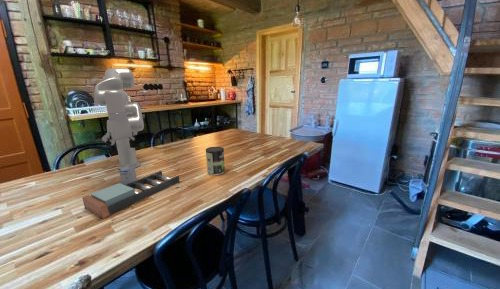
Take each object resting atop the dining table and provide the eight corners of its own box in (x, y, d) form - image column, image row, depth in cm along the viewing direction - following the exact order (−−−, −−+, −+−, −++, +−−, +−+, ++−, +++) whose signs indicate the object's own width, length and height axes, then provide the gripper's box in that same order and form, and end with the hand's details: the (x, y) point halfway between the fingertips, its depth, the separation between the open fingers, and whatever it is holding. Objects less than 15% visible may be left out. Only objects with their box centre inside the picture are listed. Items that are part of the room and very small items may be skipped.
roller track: (84, 207, 93) (82, 197, 92) (161, 176, 124) (160, 167, 123) (103, 218, 86) (100, 207, 84) (179, 181, 117) (178, 172, 115)
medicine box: (128, 180, 120) (125, 165, 118) (137, 179, 121) (134, 164, 118) (121, 186, 113) (118, 170, 110) (130, 185, 113) (127, 170, 111)
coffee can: (227, 169, 133) (226, 146, 129) (221, 175, 123) (220, 151, 119) (211, 168, 135) (209, 146, 131) (204, 174, 125) (202, 151, 121)
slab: (92, 200, 94) (90, 193, 93) (120, 188, 104) (119, 183, 103) (106, 207, 88) (105, 201, 87) (135, 194, 98) (134, 188, 97)
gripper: (130, 113, 116) (135, 145, 121) (94, 118, 102) (101, 153, 107) (138, 114, 112) (143, 146, 117) (102, 119, 98) (109, 156, 103)
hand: (123, 150), depth 112 cm, fingers open, 9 cm apart
